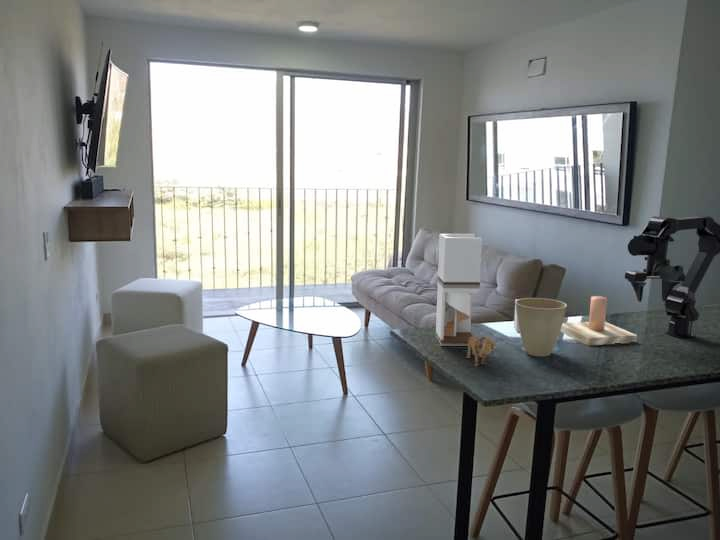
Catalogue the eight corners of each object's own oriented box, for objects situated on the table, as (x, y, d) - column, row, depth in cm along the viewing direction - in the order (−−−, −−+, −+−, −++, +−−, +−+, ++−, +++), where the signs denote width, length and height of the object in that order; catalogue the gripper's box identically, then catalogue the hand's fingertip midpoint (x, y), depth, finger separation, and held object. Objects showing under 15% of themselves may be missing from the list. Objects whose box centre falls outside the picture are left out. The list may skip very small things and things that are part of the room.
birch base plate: (602, 327, 209) (603, 321, 208) (636, 342, 192) (636, 335, 191) (557, 330, 205) (558, 323, 205) (587, 345, 188) (588, 338, 187)
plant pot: (561, 348, 185) (565, 299, 182) (564, 363, 171) (568, 310, 168) (512, 343, 189) (515, 296, 186) (512, 358, 175) (515, 306, 172)
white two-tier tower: (441, 347, 184) (445, 237, 178) (435, 337, 195) (439, 233, 189) (476, 347, 185) (482, 238, 178) (469, 337, 195) (474, 234, 189)
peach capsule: (604, 328, 199) (607, 297, 197) (603, 331, 195) (606, 299, 193) (589, 326, 201) (591, 295, 199) (587, 329, 197) (590, 298, 195)
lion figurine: (497, 368, 165) (499, 338, 164) (481, 370, 164) (482, 339, 162) (472, 352, 179) (473, 324, 178) (456, 354, 178) (458, 326, 176)
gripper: (648, 259, 181) (643, 307, 184) (700, 258, 185) (694, 306, 188) (626, 253, 192) (621, 299, 195) (675, 253, 196) (669, 298, 198)
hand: (651, 301), depth 194 cm, fingers open, 9 cm apart
